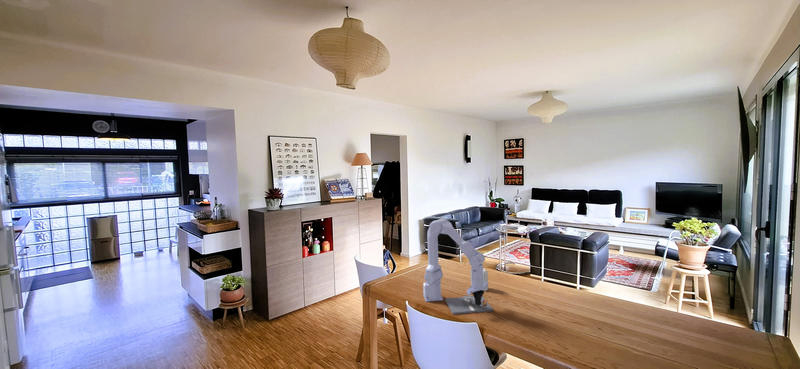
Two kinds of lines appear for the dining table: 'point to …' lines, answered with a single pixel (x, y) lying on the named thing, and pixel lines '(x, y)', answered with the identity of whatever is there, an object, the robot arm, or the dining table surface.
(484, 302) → the lever with ball knob
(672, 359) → the dining table surface
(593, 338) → the dining table surface
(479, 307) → the lock plate
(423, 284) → the robot arm
